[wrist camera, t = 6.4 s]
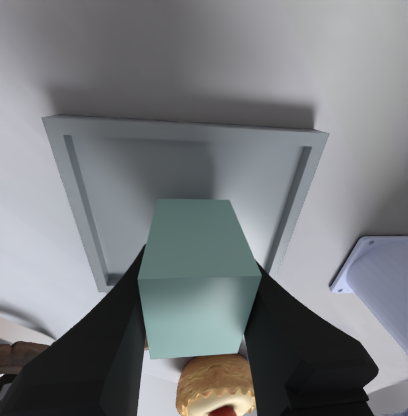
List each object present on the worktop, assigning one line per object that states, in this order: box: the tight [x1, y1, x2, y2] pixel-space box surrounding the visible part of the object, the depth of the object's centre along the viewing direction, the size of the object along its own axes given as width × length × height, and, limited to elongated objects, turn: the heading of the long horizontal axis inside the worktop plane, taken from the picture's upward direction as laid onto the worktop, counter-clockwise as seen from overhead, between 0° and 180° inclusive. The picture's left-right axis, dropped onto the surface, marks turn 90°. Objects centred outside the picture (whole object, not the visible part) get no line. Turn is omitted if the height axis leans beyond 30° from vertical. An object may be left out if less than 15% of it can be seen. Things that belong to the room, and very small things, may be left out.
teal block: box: [137, 199, 262, 359], centre depth 11 cm, size 4×6×6 cm
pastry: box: [176, 353, 256, 416], centre depth 27 cm, size 12×12×9 cm
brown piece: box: [0, 341, 56, 402], centre depth 21 cm, size 12×10×8 cm
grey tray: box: [41, 115, 329, 292], centre depth 15 cm, size 16×14×2 cm
